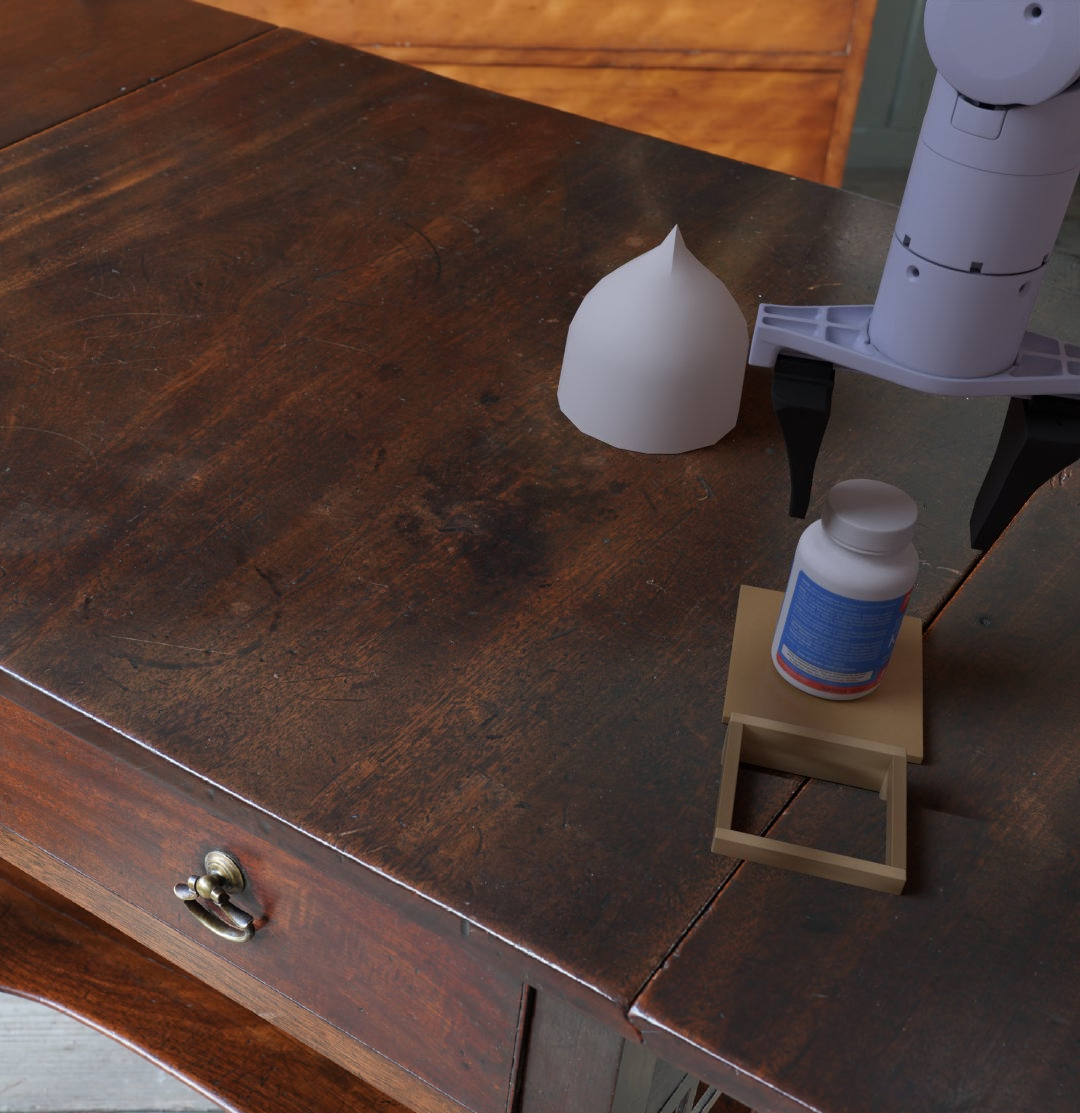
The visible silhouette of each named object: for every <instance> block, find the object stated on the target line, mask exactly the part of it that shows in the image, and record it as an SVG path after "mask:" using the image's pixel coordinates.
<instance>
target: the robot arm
mask: <svg viewBox="0 0 1080 1113" xmlns="http://www.w3.org/2000/svg"><path fill="white" fill-rule="evenodd" d="M923 31H924V39H925V44H926V49H927V51H928V54H929V57H930V59H931V61H932V63H933V65H934V67H935V69H936V73H935V79H934V81H933V86H932V89H931V93H930V97H929V99H928V104H927V108H926V112H925V114H924V117H923V121H922V124H921V128H920V131H919V134H918V140H917V144H916V146H915V151H914V154H913V159H912V161H911V165H910V169H909V173H908V177H907V180H906V183H905V188H904V192H903V196H902V200H901V203H900V208H899V211H898V215H897V217H896V221H895V226H894V231H893V234H892V238H891V242H890V245H889V249H888V253H887V256H886V260H885V263H884V264H885V265H884V268H883V272H882V276H881V278H880V283H879V287H878V291H877V295H876V298H875V302H874V304H843V305H840V304H839V305H781V304H774V303H772V304H771V303H764V302H761V303H759V306H758V310H757V315H756V320H755V325H754V330H753V334H752V339H751V345H750V350H749V356H748V364H749V366H756V367H761V368H768V369H769V368H770V369H771V368H773V374H772V381H771V388H770V396H771V403H772V407H773V412H774V415H775V418H776V420H777V422H778V426H779V427H780V431H781V434H782V438H783V441H784V446H785V450H786V455H787V459H788V460H787V461H788V467H789V477H790V489H791V490H790V498H789V508H788V516H789V517H790V518H793V519H799V520H805V519H806V518H807V517H806V516H807V513H808V510H809V507H810V501H811V493H812V488H813V480H814V474H815V468H816V463H817V460H818V456H819V454H820V449H821V446H822V443H823V439H824V436H825V434H826V430H827V426H828V424H829V420H830V419H831V414H832V401H833V391H834V388H835V384H836V371H841V372H847V373H852V374H853V373H854V374H861V375H866V376H871V377H875V378H878V379H880V380H884V381H886V382H889V383H892V384H896V385H899V386H902V387H905V388H908V389H910V390H914V391H917V392H921V393H924V394H928V395H929V394H930V395H935V396H941V397H951V398H953V397H954V398H975V397H978V398H980V397H1010V399H1009V403H1008V407H1007V410H1006V414H1005V418H1004V421H1003V426H1002V429H1001V432H1000V436H999V439H998V442H997V445H996V449H995V452H994V455H993V458H992V459H991V463H990V465H989V467H988V470H987V472H986V474H985V476H984V478H983V481H982V483H981V486H980V488H979V491H978V493H977V495H976V499H975V501H974V504H973V508H972V511H971V515H970V517H969V518H970V519H969V533H970V534H969V536H970V540H969V541H970V549H972V550H977V551H981V552H986V551H989V549H990V547H991V545H992V544H993V543H994V541H995V539H996V538H997V537H998V535H999V533H1000V532H1001V531H1002V529H1003V528H1004V527H1005V526H1006V524H1007V523H1008V522H1009V521H1010V519H1011V518H1012V517H1013V516H1014V514H1015V513H1016V512H1017V511H1018V510H1019V509H1020V508H1021V507H1022V506H1023V504H1025V503H1026V501H1028V499H1030V497H1031V496H1032V495H1033V494H1035V492H1037V491H1038V490H1039V489H1040V488H1041V487H1042V486H1044V485H1045V484H1046V483H1047V482H1048V481H1050V480H1051V479H1052V478H1054V477H1055V476H1056V475H1057V474H1059V473H1060V472H1062V471H1063V470H1065V469H1066V468H1068V467H1069V466H1071V465H1073V464H1075V463H1076V462H1078V461H1079V460H1080V344H1077V343H1074V342H1071V341H1069V340H1068V341H1067V340H1064V339H1061V338H1057V337H1054V336H1051V335H1048V334H1044V333H1041V332H1037V331H1034V330H1031V329H1028V328H1027V327H1028V325H1029V322H1030V318H1031V315H1032V313H1033V310H1034V306H1035V303H1036V301H1037V298H1038V296H1039V292H1040V289H1041V286H1042V284H1043V280H1044V278H1045V274H1046V271H1047V269H1048V266H1049V262H1050V260H1051V258H1052V253H1053V250H1054V248H1055V244H1056V242H1057V239H1058V235H1059V233H1060V230H1061V227H1062V224H1063V221H1064V218H1065V215H1066V212H1067V210H1068V206H1069V204H1070V201H1071V197H1072V195H1073V193H1074V189H1075V186H1076V184H1077V181H1078V178H1079V176H1080V175H1079V174H1080V0H926V2H925V6H924V14H923Z"/></svg>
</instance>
